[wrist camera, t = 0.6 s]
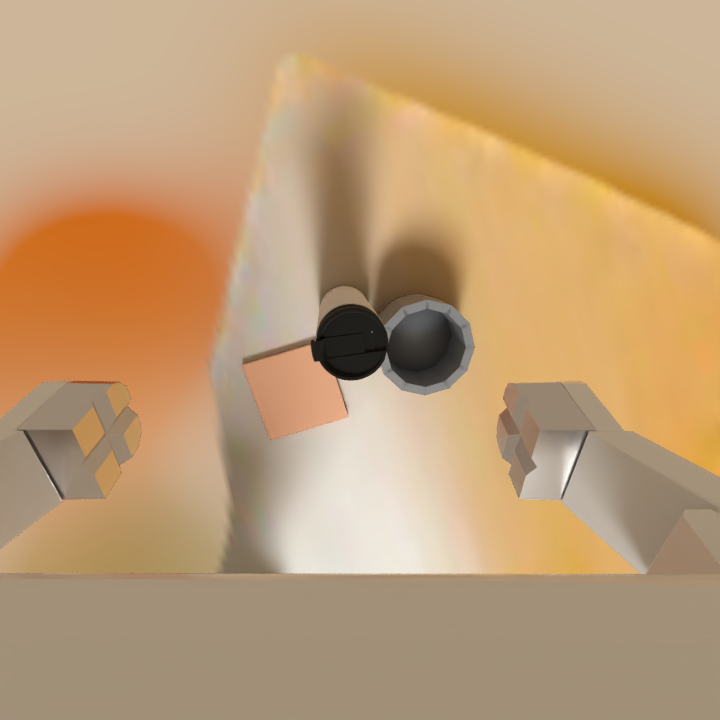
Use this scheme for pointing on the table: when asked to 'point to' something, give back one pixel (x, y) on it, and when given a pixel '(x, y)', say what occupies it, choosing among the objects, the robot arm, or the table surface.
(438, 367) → the faceted gray cup
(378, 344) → the travel mug
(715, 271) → the table surface
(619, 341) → the table surface
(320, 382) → the terracotta tile
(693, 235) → the table surface
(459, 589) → the robot arm
